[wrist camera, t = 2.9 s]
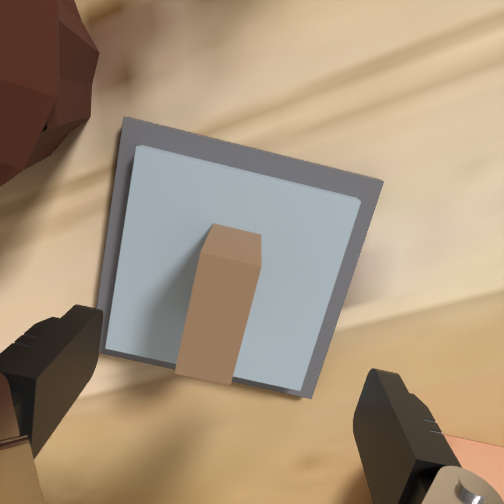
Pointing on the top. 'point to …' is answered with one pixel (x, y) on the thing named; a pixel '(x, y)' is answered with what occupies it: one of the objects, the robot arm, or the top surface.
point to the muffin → (41, 79)
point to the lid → (225, 269)
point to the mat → (254, 162)
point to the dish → (481, 460)
